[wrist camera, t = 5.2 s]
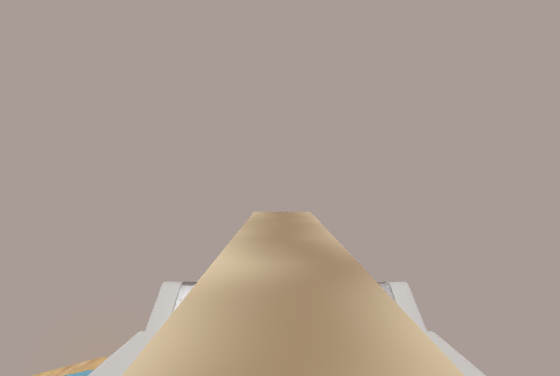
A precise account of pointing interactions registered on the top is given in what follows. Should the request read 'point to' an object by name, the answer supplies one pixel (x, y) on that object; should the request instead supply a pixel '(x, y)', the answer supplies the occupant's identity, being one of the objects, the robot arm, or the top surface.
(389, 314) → the maple rod
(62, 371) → the top surface
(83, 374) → the data package
